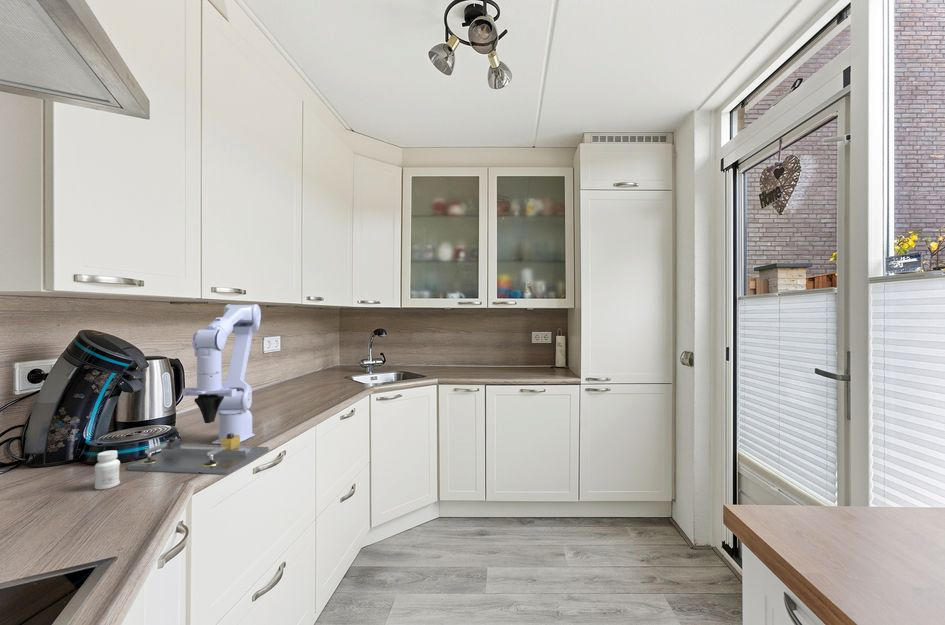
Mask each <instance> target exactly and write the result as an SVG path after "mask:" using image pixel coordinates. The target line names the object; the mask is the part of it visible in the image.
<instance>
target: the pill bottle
mask: <svg viewBox="0 0 945 625" xmlns="http://www.w3.org/2000/svg"><path fill="white" fill-rule="evenodd" d="M96 460H97V463H96V464H95V465H94V488H95V490H106V489H107V490H108V489H111V488H114V487H117V486H118V485H120V483H121V461H120V460H119V459H118V450H105V451H102V452H99V453H98V454H97V459H96Z"/></svg>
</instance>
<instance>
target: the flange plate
mask: <svg viewBox="0 0 945 625" xmlns="http://www.w3.org/2000/svg"><path fill="white" fill-rule="evenodd" d="M180 446H189V447H217V448H219V447H221V444H196V443H195V444H193V443H192V444H190V443H181V445H180ZM237 448H246V449H250V454H249V455H247V456H221V455H213V462H212V463H210V456H207V455H195V454H168V453H161V452H158V453H157V454H154V455H152V459H151V460H148V457H146V458H143V459H141V460H138V461H136V462H134V463H132V464H128V471H140V472H161V473H163V472H164V473H185V474H186V473H189V474H191V473H192V474H210V475H212V474H213V475H229V474H230V473H233V472H234V471H236V470H237V469H240V468H241V467H243V466H245V465H246V464H248V463H250V462H252V461H253V460H256V459H257V458H259V457H261V456H262V455H264V454H266V453H268V452H269V446H255V445H254V446H252V445H251V446H249V445H248V446H247V445H246V446H245V445H240V446H239V447H237ZM199 472H201V473H199ZM202 472H203V473H202Z"/></svg>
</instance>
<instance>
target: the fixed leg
mask: <svg viewBox="0 0 945 625" xmlns="http://www.w3.org/2000/svg"><path fill="white" fill-rule="evenodd" d="M181 444H182V442H181V438H176V437H169V438H168V440H165V441H163V442H162V444H158V445H156V446H154V447H150V448H148V449H145V450H144V451H145V452H144V454H146V455H147V458H148V460H151V459H152V456H153V455H152V454H153V452H156V451H158V450H161V449H162V448H163V449H173V448H175V447H178V446H180V445H181Z"/></svg>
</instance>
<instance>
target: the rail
mask: <svg viewBox="0 0 945 625" xmlns="http://www.w3.org/2000/svg"><path fill="white" fill-rule="evenodd" d="M216 448H217V447H189V446H178V447H175V448H173V449H163V448H162V449H160V453H168V454H195V455H207V453H208V452H210V451H212V450H214V449H216ZM249 454H250V449H246V448H235V449H233V450H222V451H220V452H218V453H216V454H214V455H221V456H247V455H249Z"/></svg>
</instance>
